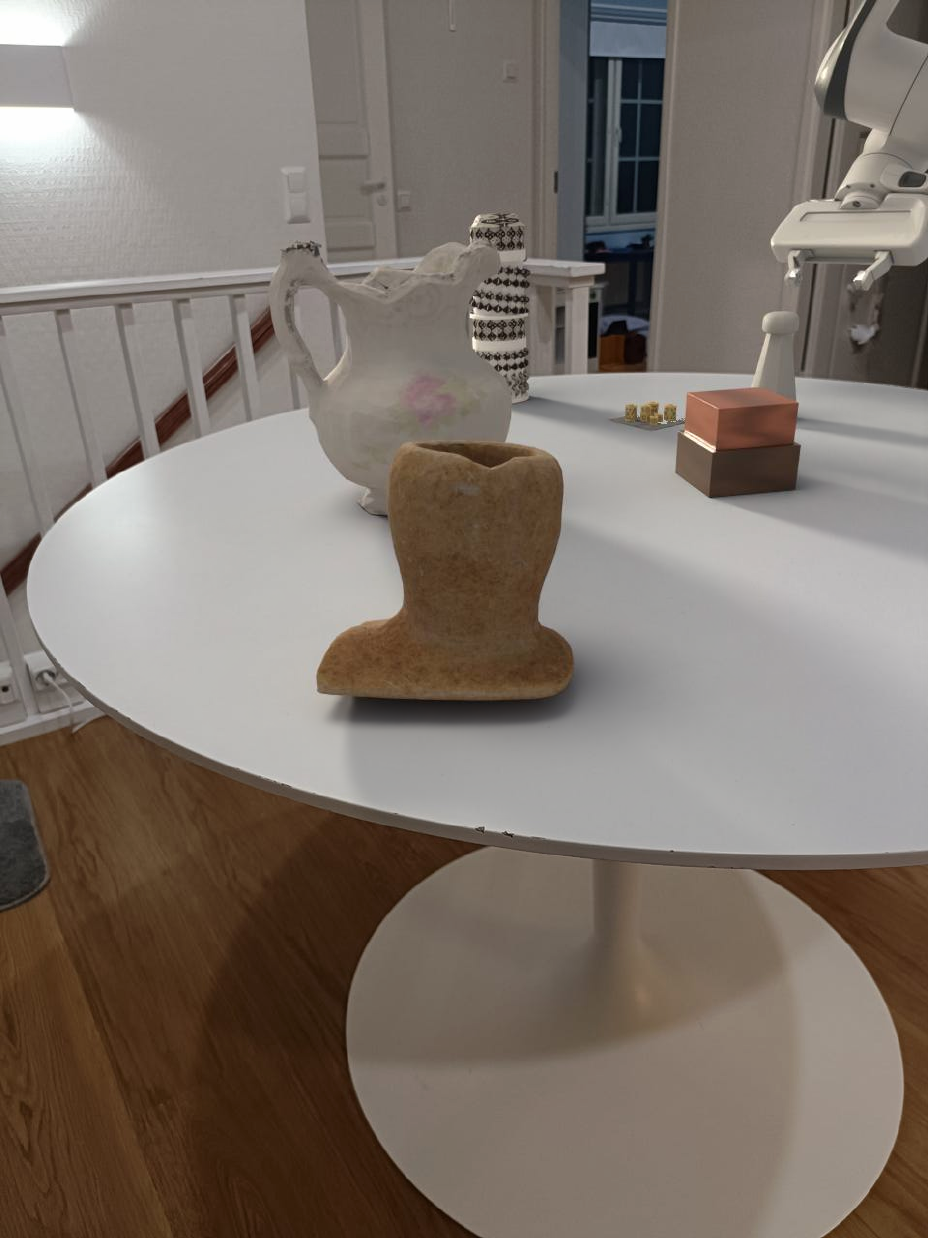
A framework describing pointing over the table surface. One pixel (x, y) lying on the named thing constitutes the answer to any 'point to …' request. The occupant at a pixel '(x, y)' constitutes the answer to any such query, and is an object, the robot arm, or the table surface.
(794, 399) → the salt shaker
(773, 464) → the block stack
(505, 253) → the white patterned cylinder
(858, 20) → the robot arm
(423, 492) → the stone cup
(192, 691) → the table surface
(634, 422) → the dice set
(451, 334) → the ceramic pitcher
